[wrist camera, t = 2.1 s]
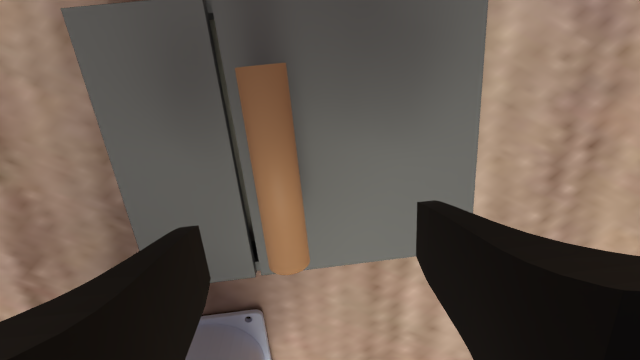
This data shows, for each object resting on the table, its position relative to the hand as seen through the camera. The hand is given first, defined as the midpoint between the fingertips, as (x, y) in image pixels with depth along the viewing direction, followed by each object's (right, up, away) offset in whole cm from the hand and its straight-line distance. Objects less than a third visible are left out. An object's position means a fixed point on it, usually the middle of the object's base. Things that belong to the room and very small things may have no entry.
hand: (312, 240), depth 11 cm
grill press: (+2, +4, +6) cm, 8 cm away
